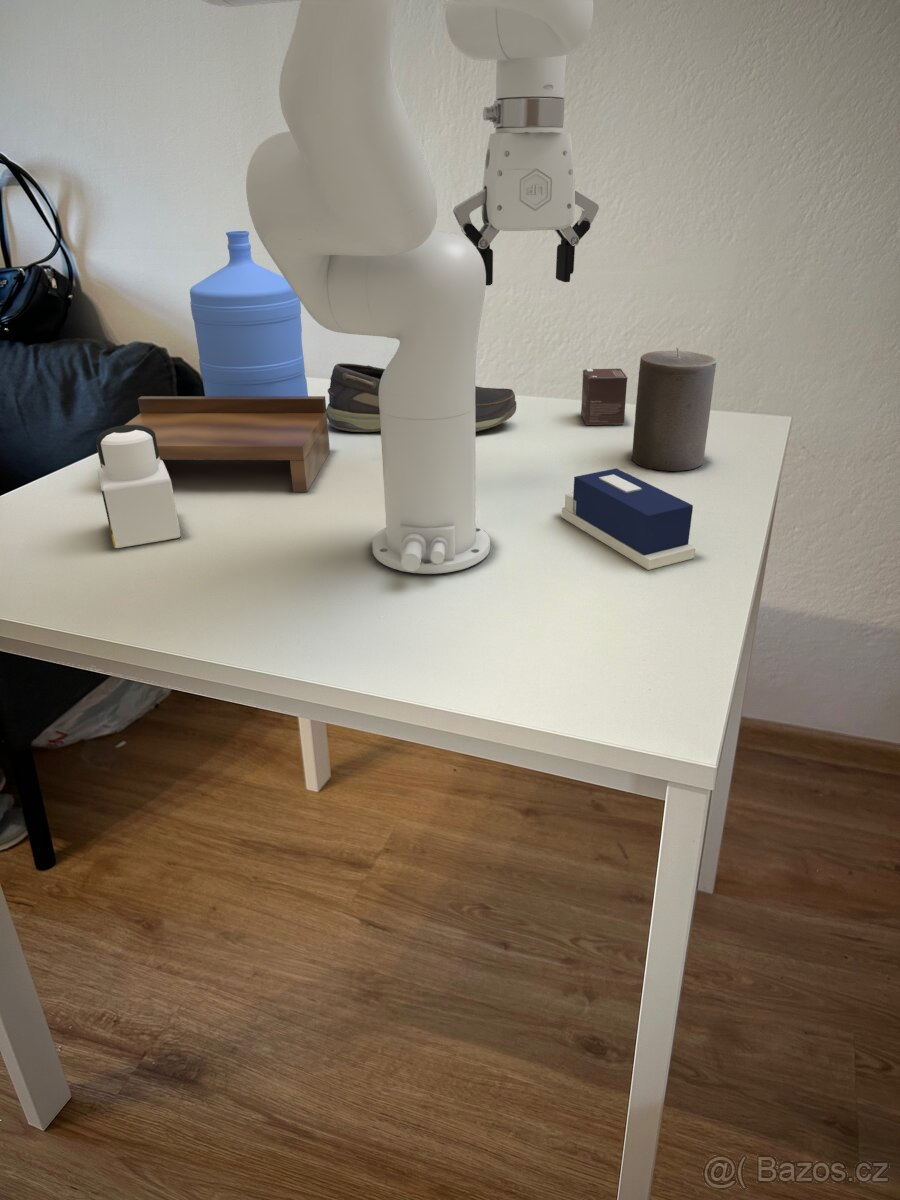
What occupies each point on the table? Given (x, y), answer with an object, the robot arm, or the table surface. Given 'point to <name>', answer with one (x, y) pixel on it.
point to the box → (603, 396)
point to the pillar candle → (672, 409)
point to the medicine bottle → (136, 487)
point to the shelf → (240, 430)
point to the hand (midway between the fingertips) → (524, 282)
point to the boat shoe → (360, 400)
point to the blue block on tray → (631, 517)
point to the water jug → (248, 329)
